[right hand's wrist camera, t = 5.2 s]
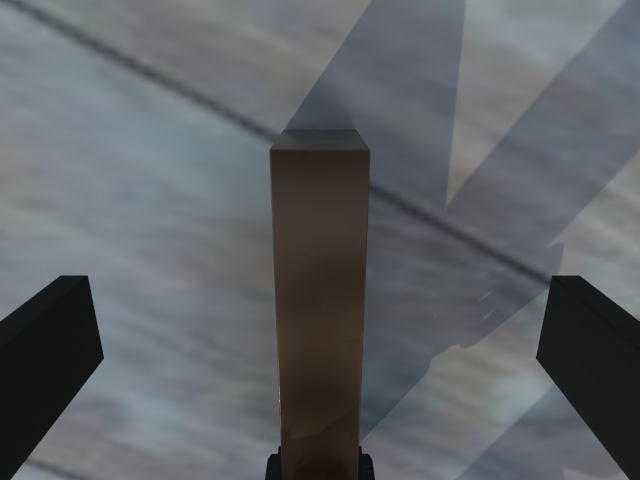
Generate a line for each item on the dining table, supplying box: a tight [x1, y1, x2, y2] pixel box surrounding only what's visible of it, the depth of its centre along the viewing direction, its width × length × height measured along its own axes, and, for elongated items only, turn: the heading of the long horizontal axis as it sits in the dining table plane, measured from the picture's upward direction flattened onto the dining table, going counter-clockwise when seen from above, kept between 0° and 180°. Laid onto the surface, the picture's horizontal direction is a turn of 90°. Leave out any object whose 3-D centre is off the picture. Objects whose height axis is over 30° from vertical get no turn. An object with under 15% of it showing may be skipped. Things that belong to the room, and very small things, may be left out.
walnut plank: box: [270, 130, 370, 480], centre depth 28 cm, size 26×4×8 cm, turn 0°
